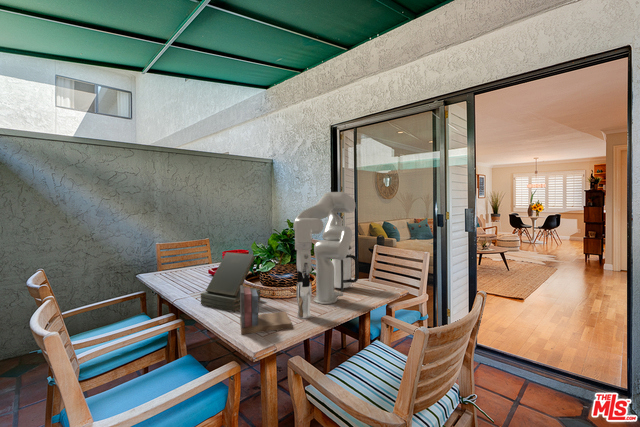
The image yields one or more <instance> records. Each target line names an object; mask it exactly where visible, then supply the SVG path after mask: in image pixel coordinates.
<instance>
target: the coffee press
mask: <svg viewBox="0 0 640 427" xmlns="http://www.w3.org/2000/svg"><path fill="white" fill-rule="evenodd" d="M352 259H353V260H354V269H355V270H354V272H355V273H354V279H352ZM332 263H333V265H334V289H340V292H343V293H344V289H347V288H351V289H354V286H353V284H354V283H356V282H358V281H359V273H360V272H359V268H360V267H359V260H358V257H357V256H355V255H353V254H352V246H351V245H350V246H349V250H348V253H347V256H346V258H345V259H343V260H334V259H332Z"/></svg>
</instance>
